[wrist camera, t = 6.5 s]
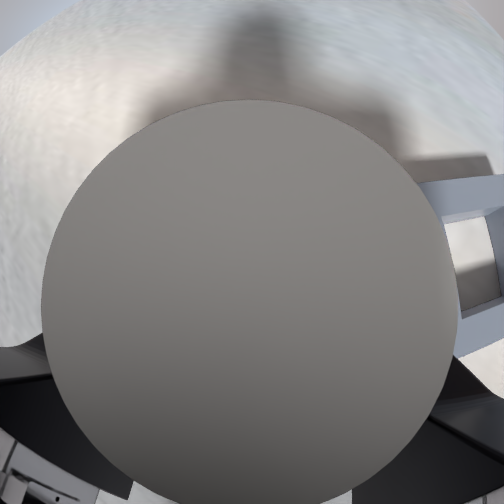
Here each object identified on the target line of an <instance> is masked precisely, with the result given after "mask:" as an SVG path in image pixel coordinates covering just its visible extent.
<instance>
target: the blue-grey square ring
mask: <svg viewBox="0 0 504 504" xmlns="http://www.w3.org/2000/svg"><path fill="white" fill-rule="evenodd" d="M416 184H417V185H418V186H419V187H420V189H421V190H422V192H423V194H424V195H425V197H426V198H427V200H428V202H429V203H430V205H431V207H432V208H433V210H434V212H435V214H436V216H437V218H438V220H439V223H440V225H441V227H442V230H443V232H444V235H445V237H446V239H447V236H446V232H445V228H444V224H447V223H452V222H457V221H462V220H468V219H473V218H478V217H483V216H485V218H486V222H487V226H488V229H489V233H490V237H491V242H492V246H493V251H494V255H495V260H496V265H497V271H498V276H499V282H500V289H501V297H499V298H496V299H494V300H491V301H489V302H486V303H483V304H481V305H478V306H475V307H473V308H470V309H467V310H464V311H461V309H460V302H459V295H458V325H457V334H456V340H455V346H454V352H453V355H454V356H455V357H456V358H460V357H462V356H465V355H467V354H470V353H472V352H474V351H477V350H479V349H481V348H483V347H486V346H488V345H490V344H492V343H494V342H496V341H498V340H500V339H502V338H504V174H500V175H489V176H478V177H468V178H458V179H449V180H440V181H431V182H423V183H416ZM447 242H448V240H447ZM448 246H449V244H448ZM449 250H450V248H449ZM456 284H457V283H456ZM457 293H458V289H457Z"/></svg>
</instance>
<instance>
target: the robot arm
mask: <svg viewBox="0 0 504 504" xmlns="http://www.w3.org/2000/svg"><path fill="white" fill-rule="evenodd" d="M133 481H134V480H132V479H131V478H130V477H128V476H127V475H126V474H124V473H123V472H122V471H121V470H119V469H118V468H117V467H115V466H114V465H113V464H112V463H111V462H110V461H109V460H108V459H107V458H106V457H105V456H104V455H103V454H102V453H101V452H100V451H99V450H98V449H97V448H96V447H95V446H94V445H93V444H92V443H91V442H90V440H89V439H88V438H87V437H86V435H85V434H84V433H83V431H82V430H81V429H80V427H79V426H78V425H77V423H76V422H75V420H74V418H73V417H72V415H71V413H70V412H69V410H68V408H67V407H66V405H65V403H64V401H63V399H62V397H61V394H60V392H59V390H58V388H57V385H56V383H55V381H54V378H53V375H52V371H51V368H50V365H49V361H48V358H47V354H46V349H45V343H44V337H43V333H41V334H39V335H38V336H36V337H34V338H33V339H31V340H29V341H27V342H25V343H23V344H21V345H18V346H14V347H0V504H95V502H96V499H97V496H98V493H99V490H103V491H105V492H107V493H110V494H112V495H115V496H117V497H120V498H122V499H125V500H128V497H129V495H130V491H131V488H132V484H133ZM352 504H504V399H503V398H501V397H499V396H497V395H495V394H494V393H492V392H491V391H490V390H489V389H488V388H487V387H486V386H485V385H484V384H483V383H482V382H481V381H480V380H479V379H478V378H477V377H476V376H475V375H474V374H473V373H472V372H471V371H470V370H469V369H467V368H466V367H465V366H464V365H463V364H462V363H461V362H460V361H459V360H458V359H457V358H456V357H455V356H454V355H453V357H452V361H451V364H450V367H449V370H448V373H447V376H446V379H445V382H444V385H443V388H442V390H441V392H440V394H439V396H438V398H437V400H436V402H435V404H434V406H433V408H432V410H431V412H430V414H429V415H428V417H427V418H426V420H425V421H424V423H423V424H422V426H421V427H420V429H419V430H418V431H417V433H416V434H415V436H414V437H413V438H412V440H411V441H410V442H409V443H408V444H407V445H406V446H405V447H404V448H403V449H402V450H401V452H400V453H399V454H398V455H397V456H396V457H395V458H394V459H393V460H392V461H391V462H389V463H388V464H387V465H386V466H385V467H383V468H382V469H381V470H380V471H378V472H377V473H376V474H375V475H373V476H372V477H371V478H369V479H368V480H366V481H365V482H363V483H361V484H360V485H358V486H356V487H355V488H353V489H352Z"/></svg>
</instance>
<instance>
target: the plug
mask: <svg viewBox="0 0 504 504" xmlns="http://www.w3.org/2000/svg"><path fill="white" fill-rule="evenodd" d="M41 316H42V331H43V337H44V343H45V349H46V354H47V358H48V361H49V365H50V368H51V371H52V375H53V378H54V381H55V383H56V385H57V388H58V390H59V392H60V394H61V397H62V399H63V401H64V403H65V405H66V407H67V408H68V410H69V412H70V413H71V415H72V417H73V418H74V420H75V422H76V423H77V425H78V426H79V427H80V429H81V430H82V431H83V433H84V434H85V435H86V437H87V438H88V439H89V440H90V442H91V443H92V444H93V445H94V446H95V447H96V448H97V449H98V450H99V451H100V452H101V453H102V454H103V455H104V456H105V457H106V458H107V459H108V460H109V461H110V462H111V463H112V464H113V465H114V466H115V467H117V468H118V469H119V470H121V471H122V472H123V473H124V474H126V475H127V476H128V477H130V478H131V479H132V480H134V481H136V482H137V483H139V484H141V485H142V486H144V487H146V488H147V489H149V490H151V491H153V492H154V493H156V494H158V495H161V496H163V497H165V498H167V499H170V500H172V501H175V502H177V503H180V504H321V503H323V502H326V501H328V500H330V499H333V498H335V497H338V496H340V495H342V494H344V493H346V492H348V491H350V490H351V489H353V488H355V487H356V486H358V485H360V484H361V483H363V482H365V481H366V480H368V479H369V478H371V477H372V476H373V475H375V474H376V473H377V472H378V471H380V470H381V469H382V468H383V467H385V466H386V465H387V464H388V463H389V462H391V461H392V460H393V459H394V458H395V457H396V456H397V455H398V454H399V453H400V452H401V450H402V449H403V448H404V447H405V446H406V445H407V444H408V443H409V442H410V441H411V440H412V438H413V437H414V436H415V434H416V433H417V431H418V430H419V429H420V427H421V426H422V424H423V423H424V421H425V420H426V418H427V417H428V415H429V414H430V412H431V410H432V408H433V406H434V404H435V402H436V400H437V398H438V396H439V394H440V392H441V390H442V388H443V385H444V382H445V379H446V376H447V373H448V370H449V367H450V364H451V361H452V357H453V352H454V346H455V340H456V334H457V325H458V293H457V284H456V276H455V269H454V265H453V261H452V257H451V253H450V250H449V246H448V242H447V239H446V237H445V235H444V232H443V230H442V227H441V225H440V223H439V220H438V218H437V216H436V214H435V212H434V210H433V208H432V207H431V205H430V203H429V202H428V200H427V198H426V197H425V195H424V194H423V192H422V190H421V189H420V187H419V186H418V185H417V184H416V182H415V181H414V180H413V179H412V177H411V176H410V175H409V174H408V172H407V171H406V170H405V169H404V168H403V167H402V165H401V164H400V163H399V162H397V161H396V160H395V159H394V158H393V157H392V156H391V155H390V154H389V153H388V152H387V151H386V150H384V149H383V148H382V147H381V146H380V145H379V144H377V143H376V142H374V141H373V140H372V139H370V138H369V137H367V136H366V135H364V134H363V133H361V132H360V131H359V130H357V129H355V128H353V127H351V126H350V125H348V124H346V123H344V122H342V121H340V120H338V119H336V118H334V117H332V116H329V115H326V114H324V113H321V112H318V111H315V110H312V109H309V108H306V107H302V106H298V105H293V104H288V103H284V102H278V101H266V100H253V99H252V100H230V101H221V102H215V103H210V104H204V105H199V106H196V107H193V108H189V109H186V110H183V111H180V112H177V113H174V114H172V115H169V116H167V117H165V118H163V119H161V120H158V121H156V122H154V123H152V124H150V125H148V126H147V127H145V128H143V129H142V130H140V131H139V132H137V133H135V134H134V135H132V136H130V137H129V138H128V139H127V140H125V141H124V142H123V143H121V144H120V145H119V146H118V147H116V148H115V149H114V150H113V151H111V152H110V153H109V154H108V155H107V156H106V157H105V158H104V159H103V160H102V161H101V162H100V163H99V164H98V165H97V166H96V167H95V168H94V169H93V170H92V172H91V173H90V174H89V175H88V177H87V178H86V179H85V181H84V182H83V183H82V184H81V186H80V187H79V188H78V190H77V191H76V193H75V195H74V196H73V198H72V199H71V201H70V203H69V205H68V206H67V208H66V210H65V211H64V214H63V216H62V218H61V220H60V222H59V225H58V227H57V229H56V231H55V234H54V237H53V240H52V243H51V246H50V249H49V253H48V256H47V261H46V266H45V271H44V277H43V284H42V298H41Z"/></svg>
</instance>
